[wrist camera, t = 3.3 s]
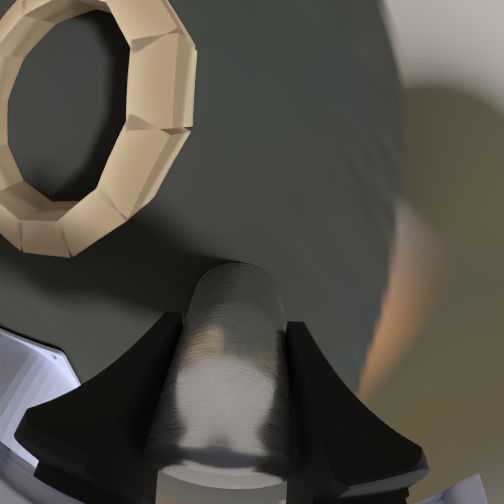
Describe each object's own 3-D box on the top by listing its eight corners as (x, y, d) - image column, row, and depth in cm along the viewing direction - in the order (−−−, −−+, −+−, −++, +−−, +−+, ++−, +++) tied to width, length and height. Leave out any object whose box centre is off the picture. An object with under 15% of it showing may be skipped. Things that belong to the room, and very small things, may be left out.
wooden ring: (5, 228, 11) (-22, 246, 9) (3, 31, 6) (-26, 29, 4) (192, 238, 11) (176, 267, 9) (208, -37, 6) (196, -67, 4)
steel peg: (196, 329, 14) (160, 478, 6) (193, 259, 12) (125, 429, 5) (276, 335, 14) (282, 490, 6) (286, 265, 12) (311, 448, 5)
